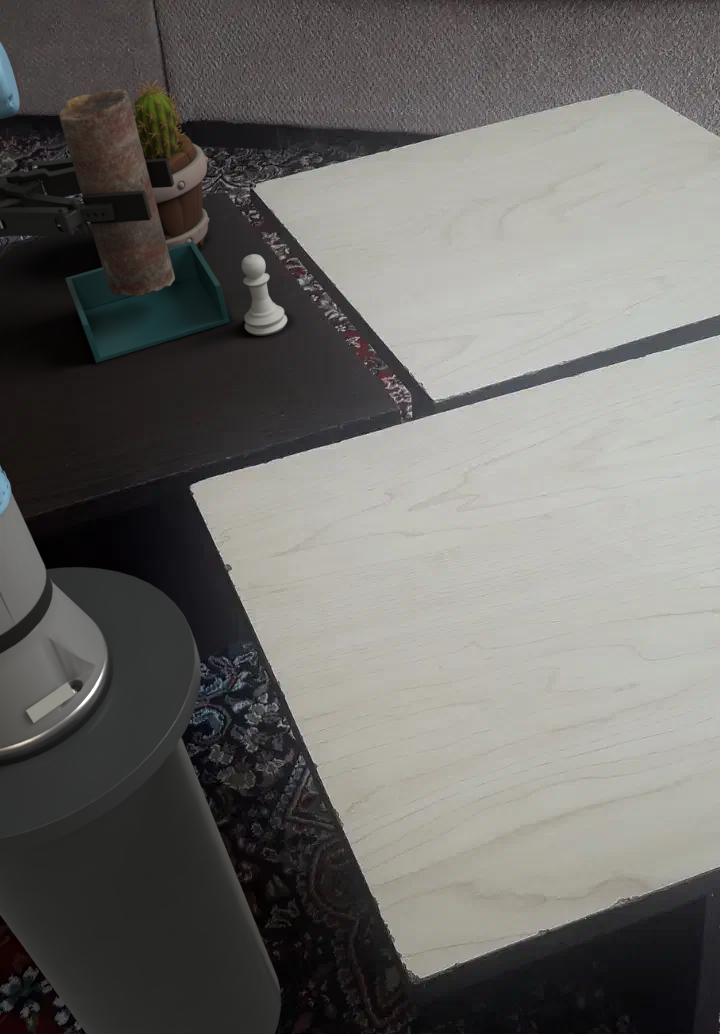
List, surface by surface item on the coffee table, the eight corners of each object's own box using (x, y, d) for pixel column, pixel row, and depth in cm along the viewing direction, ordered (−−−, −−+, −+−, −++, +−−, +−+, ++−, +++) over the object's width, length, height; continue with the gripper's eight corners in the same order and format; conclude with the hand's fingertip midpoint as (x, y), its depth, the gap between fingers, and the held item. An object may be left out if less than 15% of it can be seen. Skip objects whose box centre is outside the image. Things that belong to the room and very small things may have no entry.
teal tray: (229, 322, 117) (220, 284, 114) (96, 363, 115) (82, 325, 111) (194, 264, 128) (185, 228, 125) (72, 300, 126) (60, 264, 123)
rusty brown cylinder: (164, 306, 114) (113, 110, 100) (100, 307, 116) (42, 114, 102) (184, 272, 119) (139, 81, 105) (123, 274, 121) (71, 86, 107)
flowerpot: (84, 273, 131) (27, 102, 117) (147, 217, 140) (101, 53, 126) (185, 281, 126) (138, 103, 112) (243, 222, 135) (207, 51, 121)
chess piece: (281, 336, 113) (267, 265, 108) (240, 337, 114) (223, 267, 109) (292, 313, 116) (278, 243, 111) (251, 314, 118) (236, 245, 112)
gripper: (8, 195, 123) (194, 183, 118) (-69, 280, 109) (138, 270, 105) (-17, 128, 118) (177, 112, 113) (-101, 208, 104) (116, 194, 99)
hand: (158, 188), depth 109 cm, fingers closed on rusty brown cylinder, 7 cm apart
